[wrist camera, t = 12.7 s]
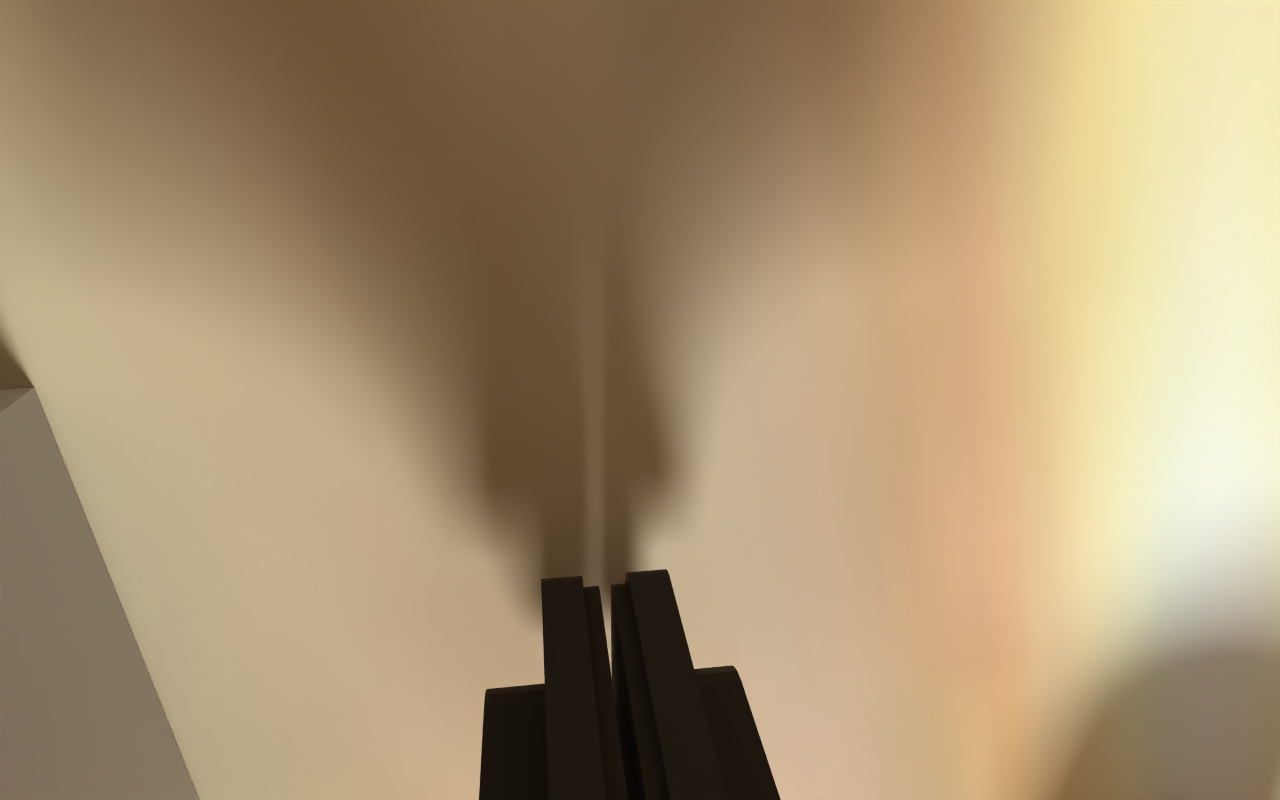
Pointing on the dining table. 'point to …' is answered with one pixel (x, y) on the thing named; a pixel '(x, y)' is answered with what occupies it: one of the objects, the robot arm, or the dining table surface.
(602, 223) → the dining table surface
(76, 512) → the push block
